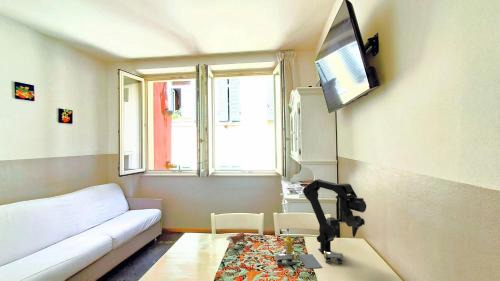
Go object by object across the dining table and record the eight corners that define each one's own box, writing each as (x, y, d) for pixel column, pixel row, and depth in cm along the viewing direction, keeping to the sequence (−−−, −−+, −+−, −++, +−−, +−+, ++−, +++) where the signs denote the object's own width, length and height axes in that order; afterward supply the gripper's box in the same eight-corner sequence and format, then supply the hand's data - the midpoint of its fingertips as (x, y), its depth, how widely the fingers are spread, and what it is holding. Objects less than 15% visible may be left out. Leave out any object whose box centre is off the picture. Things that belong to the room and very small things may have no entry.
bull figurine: (225, 248, 141) (225, 234, 141) (242, 242, 150) (242, 229, 150) (229, 251, 138) (229, 236, 138) (246, 244, 147) (246, 231, 147)
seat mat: (298, 255, 131) (298, 254, 131) (312, 254, 132) (312, 254, 132) (306, 268, 117) (306, 268, 117) (322, 267, 118) (322, 267, 118)
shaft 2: (324, 262, 124) (324, 253, 124) (323, 258, 128) (323, 249, 128) (342, 264, 121) (342, 254, 121) (341, 260, 126) (341, 251, 126)
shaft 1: (277, 265, 121) (277, 255, 121) (275, 261, 125) (275, 251, 125) (296, 264, 122) (296, 254, 122) (293, 260, 126) (293, 250, 126)
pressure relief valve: (295, 253, 134) (295, 235, 134) (283, 261, 125) (283, 242, 125) (287, 250, 138) (286, 233, 138) (275, 258, 129) (274, 239, 129)
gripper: (335, 213, 116) (335, 244, 116) (371, 211, 118) (371, 242, 118) (325, 206, 127) (326, 235, 127) (358, 205, 129) (358, 234, 129)
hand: (345, 237), depth 125 cm, fingers open, 9 cm apart
